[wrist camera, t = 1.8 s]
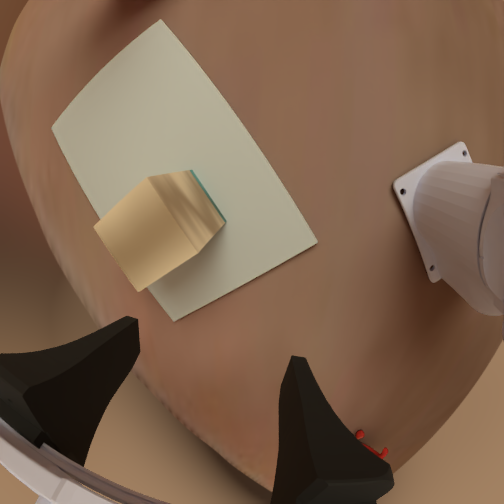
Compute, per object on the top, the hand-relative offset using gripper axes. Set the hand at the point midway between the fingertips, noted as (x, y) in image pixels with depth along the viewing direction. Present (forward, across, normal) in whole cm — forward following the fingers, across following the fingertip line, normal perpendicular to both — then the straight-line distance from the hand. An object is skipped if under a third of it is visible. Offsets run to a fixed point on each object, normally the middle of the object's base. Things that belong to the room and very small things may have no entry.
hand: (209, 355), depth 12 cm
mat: (+10, +8, -7) cm, 15 cm away
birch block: (+10, +5, -4) cm, 12 cm away
